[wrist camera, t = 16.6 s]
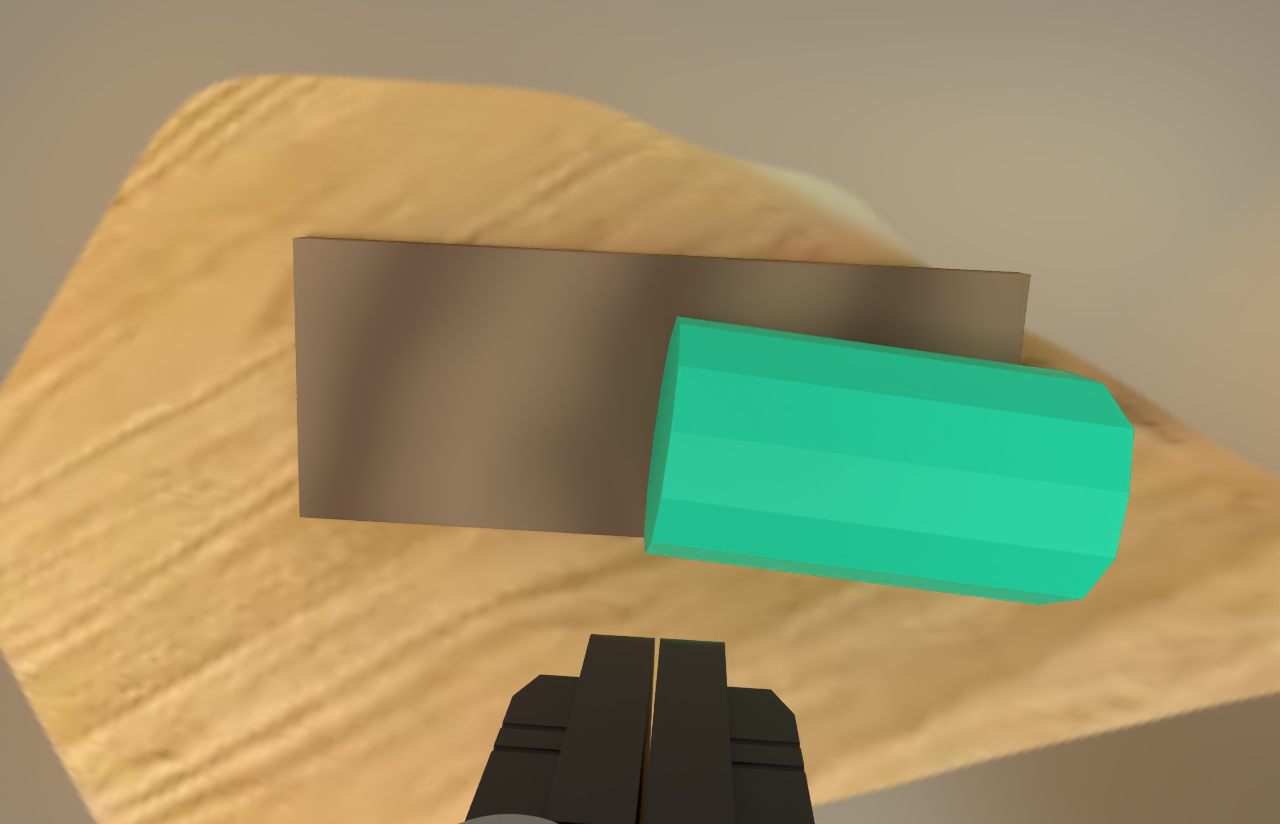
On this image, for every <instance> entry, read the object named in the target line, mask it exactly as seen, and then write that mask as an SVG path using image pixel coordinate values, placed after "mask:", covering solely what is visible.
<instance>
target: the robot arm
mask: <svg viewBox="0 0 1280 824" xmlns="http://www.w3.org/2000/svg"><path fill="white" fill-rule="evenodd" d="M654 655H655V638H644V637H629V636H613V635H597V634H591V635H590V639H589V643H588V646H587V650H586V654H585V658H584V662H583V666H582V670H581V674H580V677H569V676H554V675H539V676H538V677H536V678H535V679H534V680H533V681H531V682H530V683H529V684H527V685H526V686H525V687H524V688H522V689H521V690H520V691H519V692H517V693H516V694H515V695H513V697H512V699H511V702H510V705H509V707H508V710H507V712H506V715H505V718H504V720H503V724H502V728H500V731H499V733H498V736H497V738H496V741H495V744H494V750H493V751H492V752H491V754H490V757H489V759H488V762H487V765H486V767H485V770H484V772H483V775H482V778H481V780H480V783H479V786H478V788H477V791H476V793H475V796H474V799H473V801H472V804H471V806H470V809H469V812H468V814H467V817H466V820H465V822H462V823H460V824H815V822H814V817H813V812H812V806H811V800H810V795H809V790H808V784H807V779H806V774H805V772H804V763H803V757H802V752H801V748H800V741H799V736H798V731H797V725H796V720H795V715H794V714H793V712H792V711H791V710H790V709H789V708H788V707H787V706H786V705H785V704H784V703H783V702H782V701H781V700H780V699H779V698H778V697H777V696H776V694H775V693H774V692H773V691H772V690H770V689H755V688H740V687H727V676H726V658H725V643H724V642H710V641H694V640H679V639H663V638H661V639H660V648H659V659H658V670H657V681H656V692H655V703H654V714H653V725H652V736H651V718H652V697H653V676H654ZM650 739H651V747H650Z"/></svg>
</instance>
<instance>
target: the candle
mask: <svg viewBox="0 0 1280 824" xmlns="http://www.w3.org/2000/svg"><path fill="white" fill-rule="evenodd" d="M1133 436H1134V428H1133V427H1132V425H1131V424H1130V422H1129V421H1128V419H1127V418H1126V416H1125V415H1124V413H1123V412H1122V410H1121V409H1120V407H1119V406H1118V404H1117V403H1116V401H1115V400H1114V398H1113V397H1112V395H1111V394H1110V392H1109V391H1108V389H1107V388H1106V386H1105V385H1104V384H1103V383H1100V382H1097V381H1094V380H1091V379H1088V378H1086V377H1083V376H1080V375H1077V374H1074V373H1071V372H1067V371H1060V370H1053V369H1045V368H1038V367H1031V366H1024V365H1017V364H1010V363H1003V362H996V361H989V360H982V359H975V358H968V357H961V356H954V355H946V354H939V353H932V352H925V351H918V350H911V349H904V348H897V347H890V346H883V345H876V344H869V343H862V342H855V341H847V340H840V339H833V338H826V337H819V336H812V335H805V334H798V333H791V332H784V331H777V330H770V329H763V328H756V327H748V326H741V325H734V324H727V323H720V322H713V321H706V320H699V319H692V318H685V317H678V316H677V318H676V321H675V325H674V328H673V331H672V335H671V338H670V342H669V348H668V353H667V358H666V363H665V368H664V374H663V379H662V384H661V391H660V398H659V404H658V411H657V418H656V424H655V431H654V438H653V446H652V455H651V464H650V472H649V481H648V489H647V502H646V516H645V530H644V537H645V553H647V554H654V555H662V556H670V557H677V558H685V559H693V560H700V561H708V562H715V563H723V564H731V565H738V566H746V567H754V568H761V569H769V570H777V571H784V572H792V573H800V574H807V575H815V576H823V577H830V578H838V579H846V580H853V581H861V582H869V583H876V584H884V585H892V586H899V587H907V588H914V589H922V590H930V591H937V592H945V593H953V594H960V595H968V596H976V597H983V598H991V599H999V600H1006V601H1014V602H1022V603H1029V604H1037V605H1041V604H1049V603H1056V602H1064V601H1072V600H1079V599H1083V598H1084V597H1085V596H1086V595H1087V593H1088V592H1089V591H1090V590H1091V588H1092V587H1093V586H1094V585H1095V583H1096V582H1097V581H1098V580H1099V578H1100V577H1101V576H1102V575H1103V573H1104V572H1105V571H1106V570H1107V568H1108V567H1109V566H1110V564H1111V563H1112V562H1113V561H1114V559H1115V558H1116V553H1117V549H1118V544H1119V540H1120V535H1121V530H1122V526H1123V521H1124V516H1125V512H1126V507H1127V502H1128V498H1129V493H1130V479H1131V465H1132V450H1133Z"/></svg>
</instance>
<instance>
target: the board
mask: <svg viewBox="0 0 1280 824" xmlns="http://www.w3.org/2000/svg"><path fill="white" fill-rule="evenodd" d="M293 256H294V297H295V339H296V381H297V423H298V464H299V506H300V517H306V518H323V519H340V520H357V521H374V522H391V523H408V524H425V525H442V526H459V527H476V528H493V529H510V530H527V531H544V532H561V533H578V534H595V535H612V536H629V537H644V530H645V516H646V502H647V489H648V481H649V472H650V464H651V455H652V446H653V438H654V431H655V424H656V418H657V411H658V404H659V398H660V391H661V384H662V379H663V374H664V368H665V363H666V358H667V353H668V348H669V342H670V338H671V335H672V331H673V328H674V325H675V321H676V318H677V316H678V317H685V318H692V319H699V320H706V321H713V322H720V323H727V324H734V325H741V326H748V327H756V328H763V329H770V330H777V331H784V332H791V333H798V334H805V335H812V336H819V337H826V338H833V339H840V340H847V341H855V342H862V343H869V344H876V345H883V346H890V347H897V348H904V349H911V350H918V351H925V352H932V353H939V354H946V355H954V356H961V357H968V358H975V359H982V360H989V361H996V362H1003V363H1010V364H1017V365H1019V362H1020V355H1021V347H1022V339H1023V331H1024V323H1025V315H1026V307H1027V298H1028V291H1029V283H1030V275H1029V274H1023V273H1019V272H1001V271H981V270H960V269H941V268H921V267H901V266H881V265H861V264H841V263H820V262H800V261H780V260H760V259H740V258H720V257H700V256H680V255H660V254H640V253H620V252H600V251H580V250H560V249H540V248H520V247H500V246H480V245H460V244H440V243H420V242H400V241H380V240H359V239H339V238H319V237H299V238H293Z"/></svg>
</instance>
